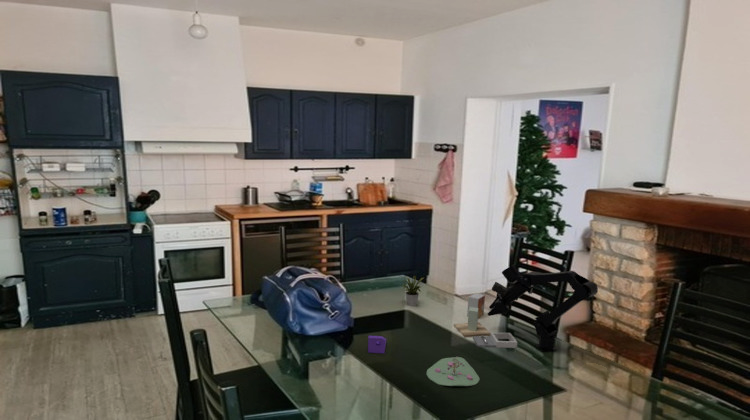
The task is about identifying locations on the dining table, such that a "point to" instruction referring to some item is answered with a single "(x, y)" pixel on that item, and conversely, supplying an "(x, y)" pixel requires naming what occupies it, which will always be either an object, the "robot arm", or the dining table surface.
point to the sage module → (472, 319)
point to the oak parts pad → (467, 333)
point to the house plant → (412, 292)
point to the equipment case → (494, 342)
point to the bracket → (376, 344)
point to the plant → (453, 372)
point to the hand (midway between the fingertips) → (488, 311)
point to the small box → (476, 303)
